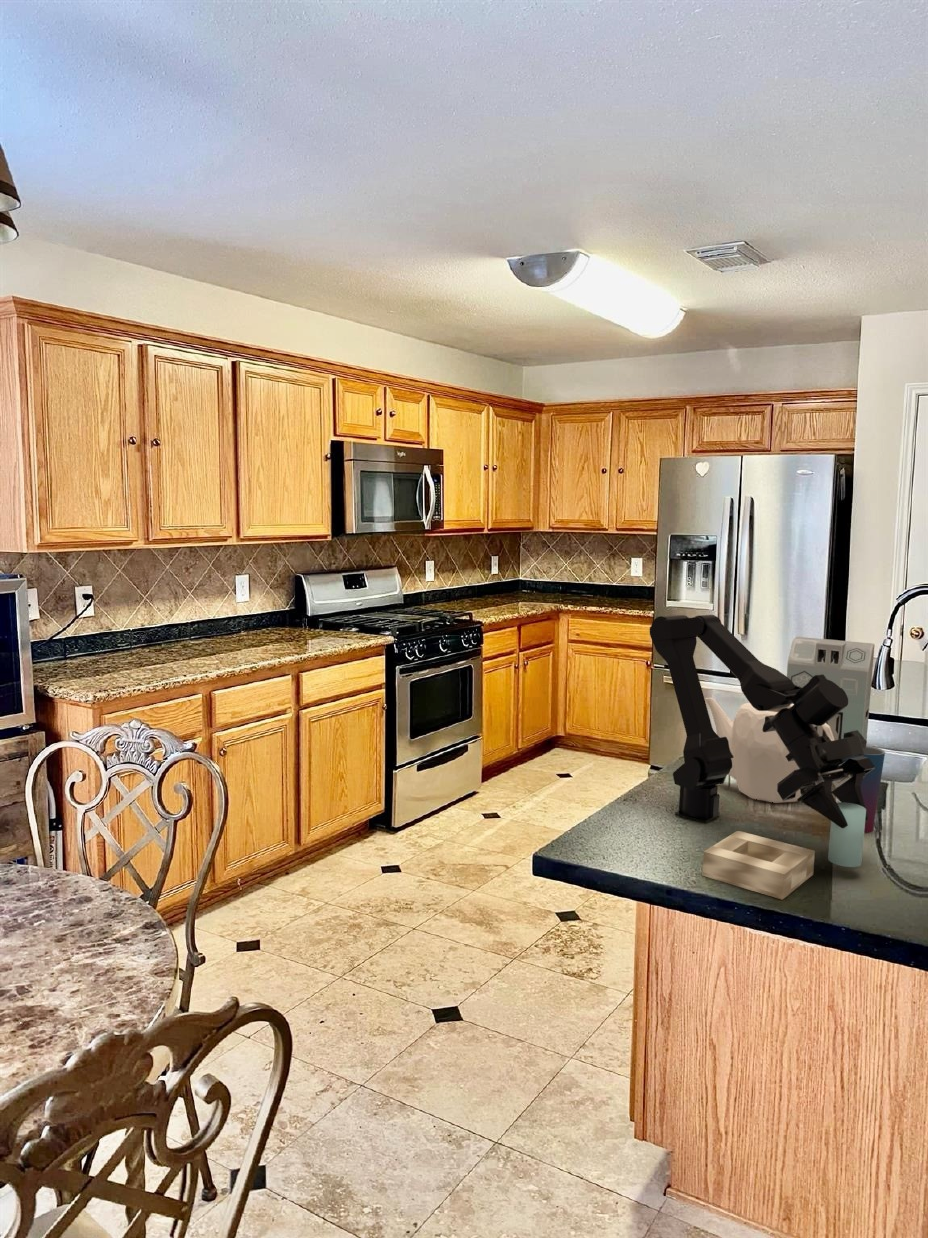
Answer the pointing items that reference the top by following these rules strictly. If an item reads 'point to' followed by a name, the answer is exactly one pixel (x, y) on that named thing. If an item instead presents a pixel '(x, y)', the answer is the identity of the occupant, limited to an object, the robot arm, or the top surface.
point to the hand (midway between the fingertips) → (855, 824)
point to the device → (837, 677)
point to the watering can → (756, 751)
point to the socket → (758, 864)
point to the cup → (871, 784)
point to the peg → (848, 836)
